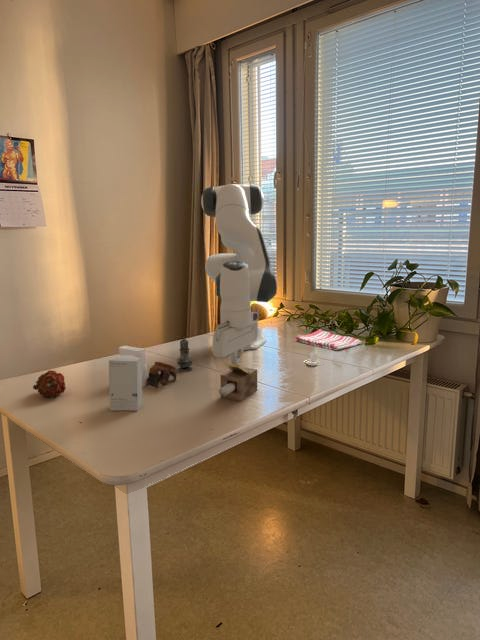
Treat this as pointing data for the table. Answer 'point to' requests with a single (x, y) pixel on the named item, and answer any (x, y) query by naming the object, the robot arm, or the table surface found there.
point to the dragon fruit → (50, 384)
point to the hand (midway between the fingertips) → (236, 363)
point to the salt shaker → (184, 357)
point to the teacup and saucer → (313, 359)
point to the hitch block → (240, 383)
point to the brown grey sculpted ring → (163, 377)
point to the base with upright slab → (136, 352)
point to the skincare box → (125, 383)
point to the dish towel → (328, 340)
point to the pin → (228, 388)
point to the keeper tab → (235, 368)
